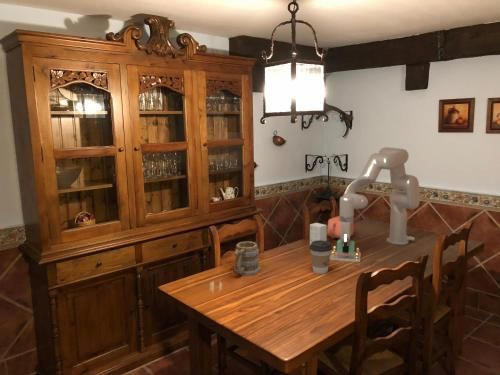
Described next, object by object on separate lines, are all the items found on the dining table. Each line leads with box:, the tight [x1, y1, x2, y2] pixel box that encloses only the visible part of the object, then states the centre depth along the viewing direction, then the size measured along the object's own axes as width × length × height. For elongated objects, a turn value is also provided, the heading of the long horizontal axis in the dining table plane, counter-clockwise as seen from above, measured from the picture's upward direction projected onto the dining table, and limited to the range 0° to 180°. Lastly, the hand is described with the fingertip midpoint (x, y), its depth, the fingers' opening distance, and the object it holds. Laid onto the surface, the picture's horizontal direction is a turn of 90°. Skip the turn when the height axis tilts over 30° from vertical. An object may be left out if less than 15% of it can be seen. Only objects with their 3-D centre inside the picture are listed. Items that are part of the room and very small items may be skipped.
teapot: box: [327, 215, 355, 240], centre depth 265 cm, size 22×13×14 cm, turn 135°
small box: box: [309, 222, 328, 246], centre depth 251 cm, size 8×6×13 cm
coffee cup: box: [308, 240, 333, 275], centre depth 211 cm, size 11×11×15 cm
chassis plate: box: [329, 245, 362, 263], centre depth 232 cm, size 16×12×4 cm
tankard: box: [233, 240, 261, 276], centre depth 211 cm, size 20×13×15 cm, turn 154°
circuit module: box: [336, 239, 356, 254], centre depth 231 cm, size 9×5×6 cm, turn 71°
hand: (345, 250), depth 231 cm, fingers closed on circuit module, 5 cm apart
